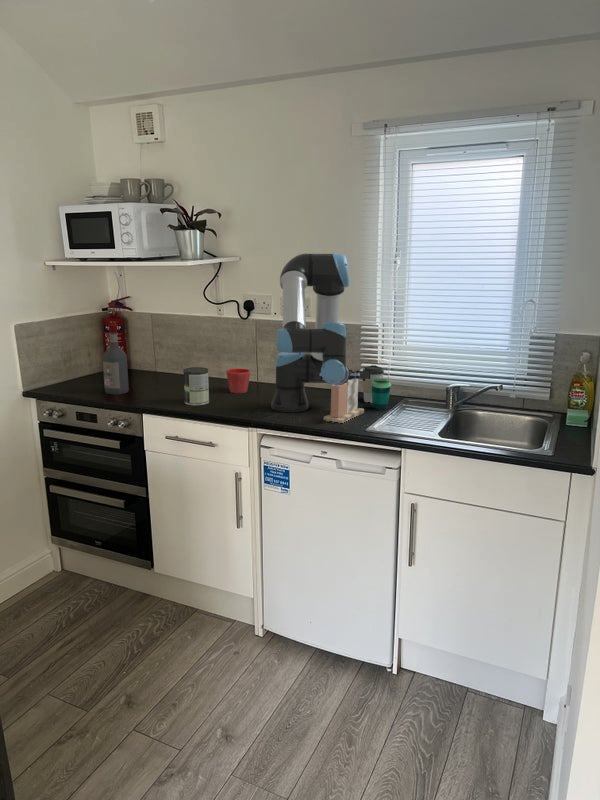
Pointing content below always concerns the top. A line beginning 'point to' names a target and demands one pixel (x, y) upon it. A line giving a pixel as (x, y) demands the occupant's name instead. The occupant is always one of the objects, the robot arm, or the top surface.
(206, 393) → the coffee can
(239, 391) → the flower pot
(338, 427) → the top surface
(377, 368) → the coffee cup
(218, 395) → the top surface
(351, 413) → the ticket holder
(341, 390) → the salmon orange block
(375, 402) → the cup
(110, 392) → the liquor
